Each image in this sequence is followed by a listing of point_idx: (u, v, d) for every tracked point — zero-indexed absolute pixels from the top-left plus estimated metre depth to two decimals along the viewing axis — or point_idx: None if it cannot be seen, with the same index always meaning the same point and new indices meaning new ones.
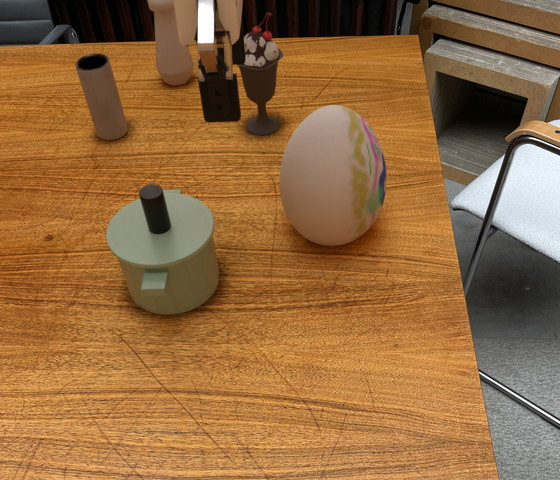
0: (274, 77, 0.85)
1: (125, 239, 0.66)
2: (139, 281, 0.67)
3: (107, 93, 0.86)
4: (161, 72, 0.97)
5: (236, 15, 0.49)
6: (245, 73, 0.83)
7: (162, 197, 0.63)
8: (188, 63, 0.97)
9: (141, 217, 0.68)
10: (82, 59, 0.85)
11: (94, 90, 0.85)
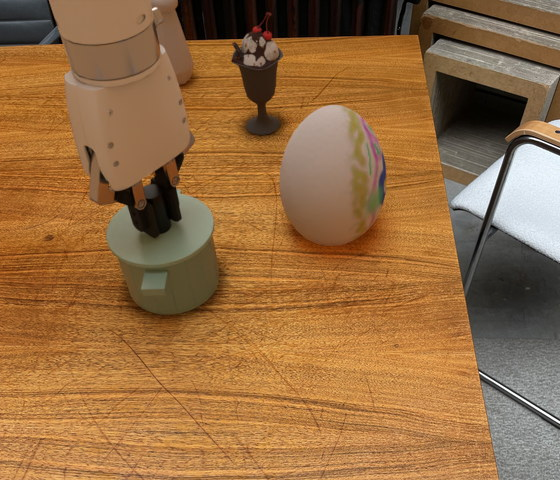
0: (274, 77, 0.85)
1: (125, 239, 0.66)
2: (139, 281, 0.67)
3: None
4: None
5: (116, 172, 0.56)
6: (245, 73, 0.83)
7: (162, 197, 0.63)
8: (188, 63, 0.97)
9: None
10: None
11: None
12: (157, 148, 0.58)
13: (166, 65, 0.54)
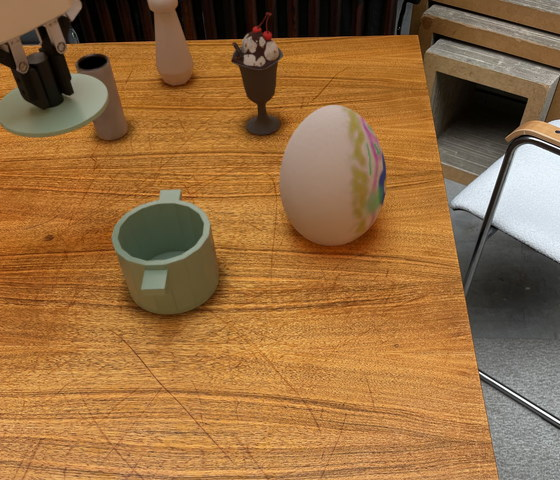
0: (274, 77, 0.85)
1: (15, 113, 0.64)
2: (139, 281, 0.67)
3: None
4: (161, 72, 0.97)
5: None
6: (245, 73, 0.83)
7: (48, 64, 0.62)
8: (188, 63, 0.97)
9: None
10: (82, 59, 0.85)
11: None
12: (32, 1, 0.56)
13: None
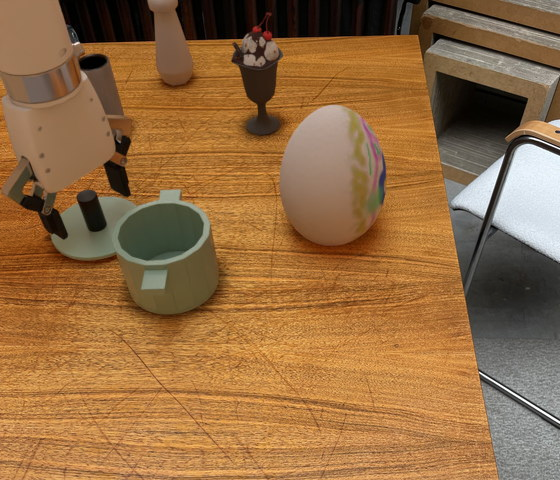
0: (274, 77, 0.85)
1: None
2: (139, 281, 0.67)
3: (107, 93, 0.86)
4: (161, 72, 0.97)
5: (48, 177, 0.67)
6: (245, 73, 0.83)
7: (96, 200, 0.75)
8: (188, 63, 0.97)
9: (81, 217, 0.79)
10: (82, 59, 0.85)
11: None
12: (84, 157, 0.69)
13: (88, 89, 0.66)
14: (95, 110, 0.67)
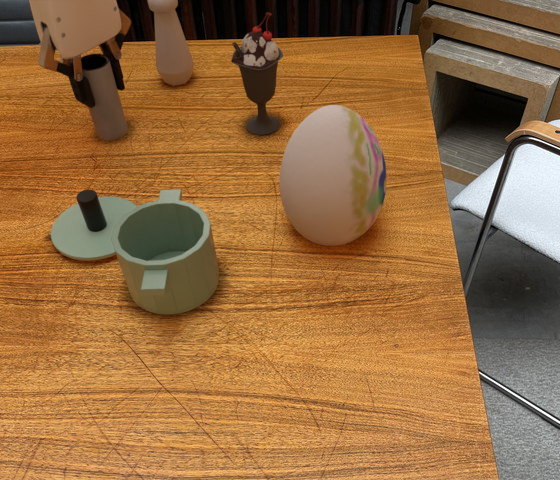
0: (274, 77, 0.85)
1: (67, 236, 0.77)
2: (139, 281, 0.67)
3: (107, 93, 0.86)
4: (161, 72, 0.97)
5: (63, 42, 0.78)
6: (245, 73, 0.83)
7: (96, 200, 0.75)
8: (188, 63, 0.97)
9: (81, 217, 0.79)
10: (82, 59, 0.85)
11: (94, 90, 0.85)
12: (95, 28, 0.80)
13: None
14: None
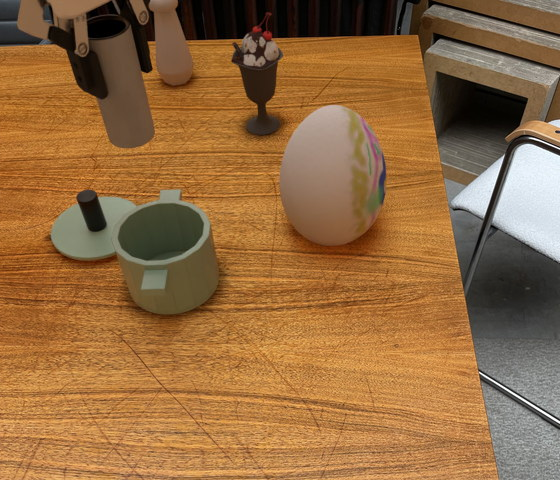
0: (274, 77, 0.85)
1: (67, 236, 0.77)
2: (139, 281, 0.67)
3: (126, 76, 0.55)
4: (161, 72, 0.97)
5: None
6: (245, 73, 0.83)
7: (96, 200, 0.75)
8: (188, 63, 0.97)
9: (81, 217, 0.79)
10: (87, 23, 0.55)
11: (106, 71, 0.55)
12: None
13: None
14: None
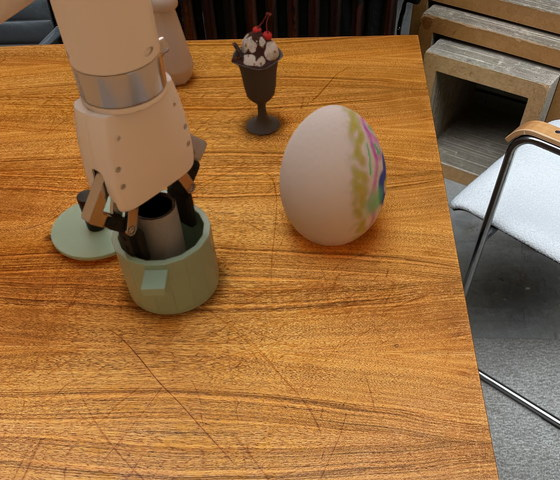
0: (274, 77, 0.85)
1: (67, 236, 0.77)
2: (139, 281, 0.67)
3: (171, 242, 0.66)
4: None
5: (122, 194, 0.58)
6: (245, 73, 0.83)
7: None
8: (188, 63, 0.97)
9: None
10: None
11: (155, 240, 0.65)
12: (162, 170, 0.60)
13: (172, 92, 0.56)
14: (177, 116, 0.58)
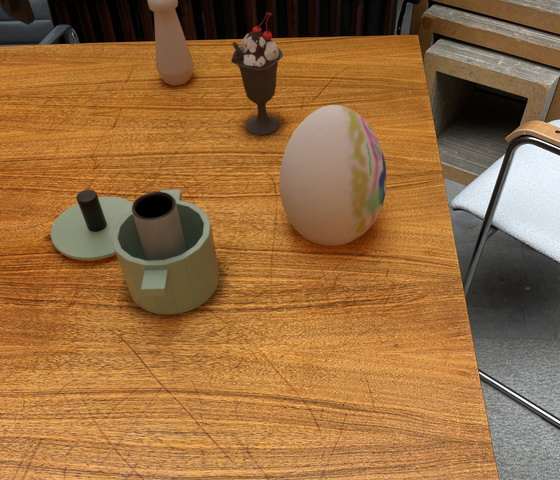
0: (274, 77, 0.85)
1: (67, 236, 0.77)
2: (139, 281, 0.67)
3: (171, 242, 0.66)
4: (161, 72, 0.97)
5: None
6: (245, 73, 0.83)
7: (96, 200, 0.75)
8: (188, 63, 0.97)
9: (81, 217, 0.79)
10: (140, 200, 0.66)
11: (155, 240, 0.65)
12: None
13: None
14: None
